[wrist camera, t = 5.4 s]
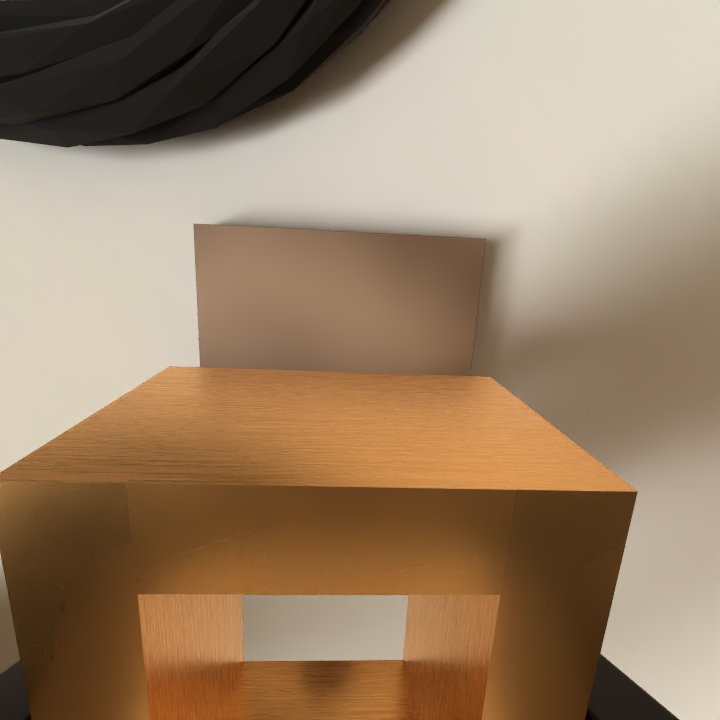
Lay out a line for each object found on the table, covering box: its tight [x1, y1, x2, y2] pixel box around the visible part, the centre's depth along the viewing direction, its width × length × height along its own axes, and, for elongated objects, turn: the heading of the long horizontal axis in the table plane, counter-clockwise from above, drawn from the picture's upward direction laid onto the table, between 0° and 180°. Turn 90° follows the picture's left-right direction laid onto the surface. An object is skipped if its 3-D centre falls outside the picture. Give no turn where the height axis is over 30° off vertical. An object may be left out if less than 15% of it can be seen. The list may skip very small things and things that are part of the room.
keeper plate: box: [194, 224, 486, 376], centre depth 13 cm, size 14×10×7 cm
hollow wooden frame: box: [0, 366, 637, 720], centre depth 7 cm, size 8×6×4 cm
